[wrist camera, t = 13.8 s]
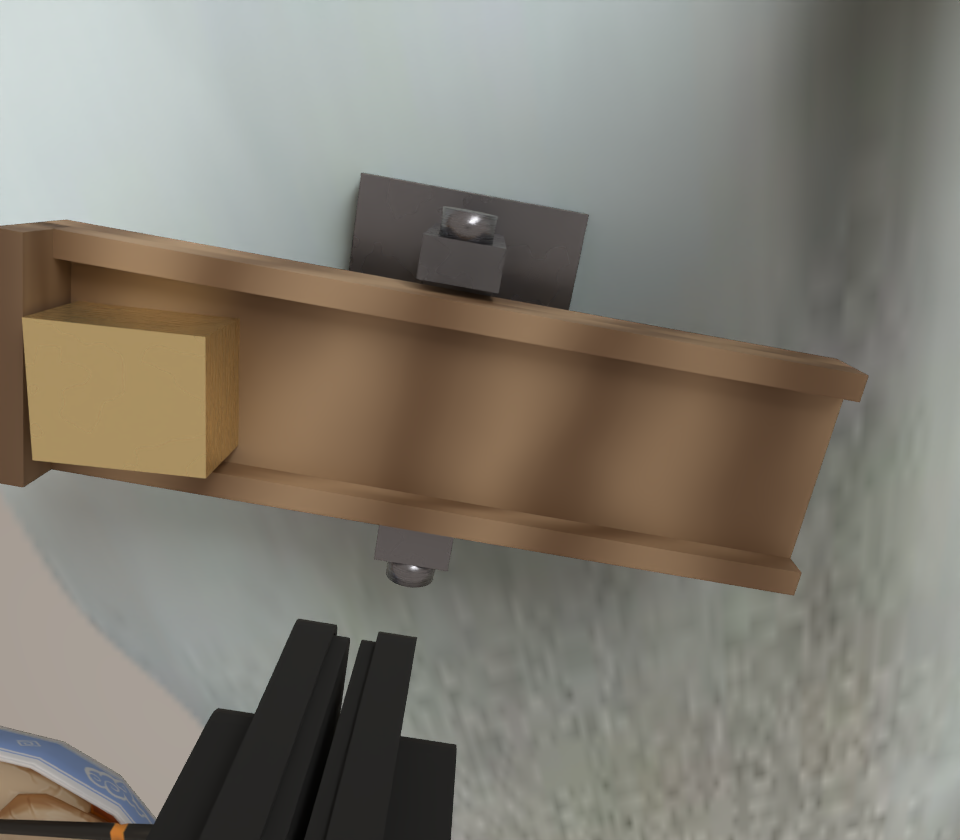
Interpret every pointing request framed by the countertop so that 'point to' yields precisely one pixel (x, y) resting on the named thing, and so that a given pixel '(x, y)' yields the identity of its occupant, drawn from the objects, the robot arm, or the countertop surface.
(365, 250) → the pivot stand
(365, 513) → the balance beam
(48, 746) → the ramen bowl
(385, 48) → the countertop surface
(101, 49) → the countertop surface
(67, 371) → the block
